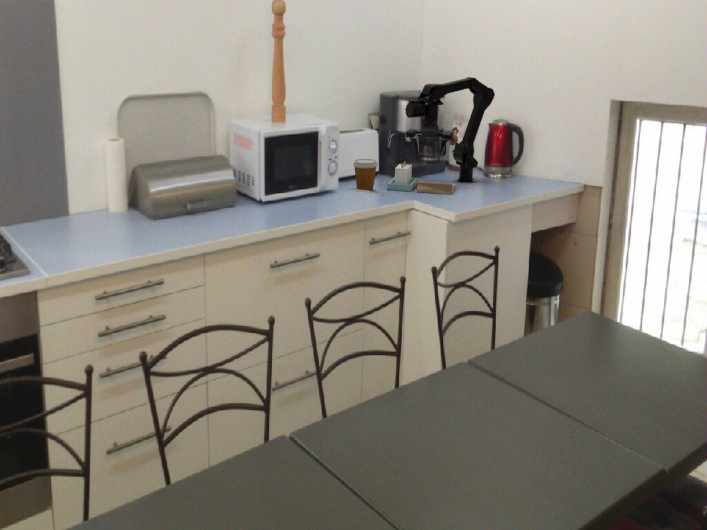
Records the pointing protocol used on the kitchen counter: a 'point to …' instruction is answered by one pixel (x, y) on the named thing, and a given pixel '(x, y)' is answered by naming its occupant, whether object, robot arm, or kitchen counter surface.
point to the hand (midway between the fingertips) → (429, 155)
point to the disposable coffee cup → (365, 173)
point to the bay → (435, 187)
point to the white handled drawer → (403, 174)
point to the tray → (402, 185)
